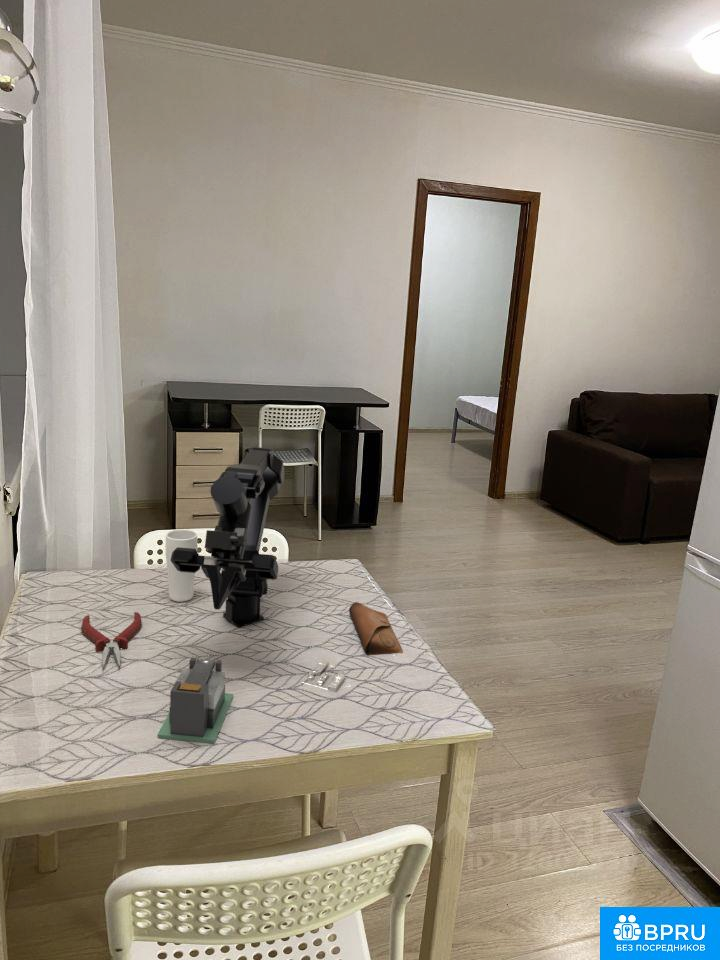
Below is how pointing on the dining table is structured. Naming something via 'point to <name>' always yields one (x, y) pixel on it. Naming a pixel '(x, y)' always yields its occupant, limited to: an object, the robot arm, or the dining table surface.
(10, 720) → the dining table surface
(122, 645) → the pliers
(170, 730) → the socket board
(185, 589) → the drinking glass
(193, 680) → the grey hinged lever
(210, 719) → the heat sink
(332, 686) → the clear plastic blister pack
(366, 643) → the sunglasses case
